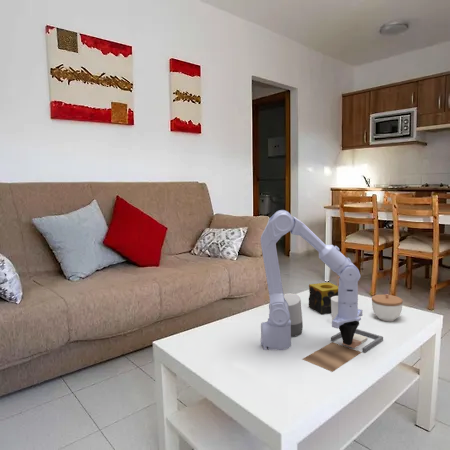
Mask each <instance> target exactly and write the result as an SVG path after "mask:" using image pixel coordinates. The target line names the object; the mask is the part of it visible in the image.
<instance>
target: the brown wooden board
mask: <svg viewBox="0 0 450 450" xmlns="http://www.w3.org/2000/svg"><path fill="white" fill-rule="evenodd" d="M362 353H363V352H362V351H359V350H357V349H355V348H352V347H349V346H346V345H343V344H339V343H336V342H335V341H334V342H332V341H331V342H329V343H328V344H326V345H325V346H323V347H320V348H319V349H318V350H316V351H314V352H312V353H310V354H309V355H307V356H306V357H303V358H302V361H304V362H305V361H306V362H308V363H310V364H312V365H315V366H317V367H320V368H322V369H325V370H327V371H330V372H331V373H333V372H335V371H336V370H338V369H339V368H341V367H342V366H344V365H345V364H347V363H348V362H350V361H351V360H352V359H355V358H356V357H357V356H359V355H361V354H362Z"/></svg>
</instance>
